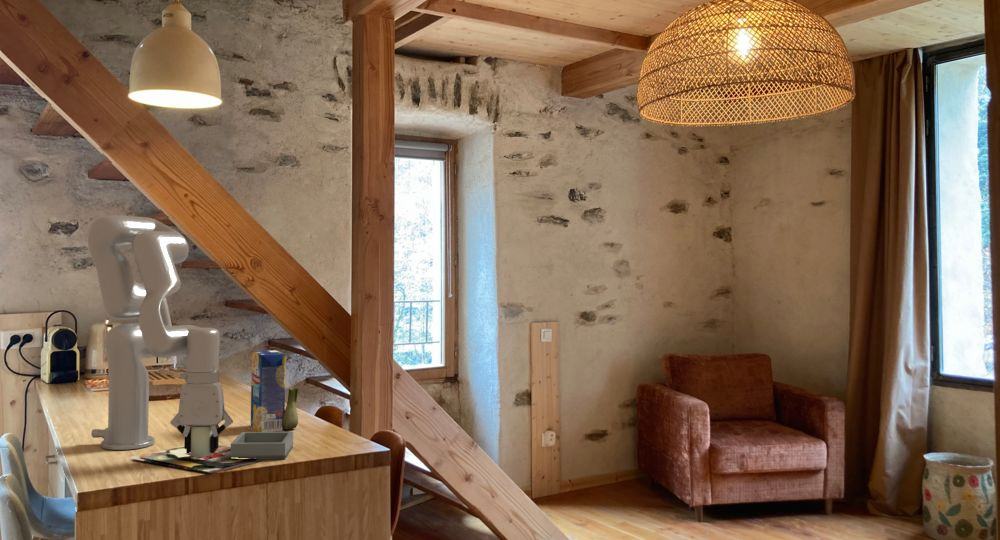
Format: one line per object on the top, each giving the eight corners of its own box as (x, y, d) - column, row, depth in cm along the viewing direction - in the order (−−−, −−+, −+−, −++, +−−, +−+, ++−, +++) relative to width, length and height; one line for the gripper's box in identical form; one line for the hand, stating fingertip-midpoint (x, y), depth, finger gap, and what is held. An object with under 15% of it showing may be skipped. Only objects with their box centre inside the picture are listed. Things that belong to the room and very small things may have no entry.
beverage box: (273, 423, 234) (275, 350, 234) (284, 430, 224) (285, 354, 224) (250, 425, 230) (251, 351, 230) (260, 433, 221) (261, 355, 221)
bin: (230, 460, 191) (230, 443, 191) (241, 447, 204) (242, 432, 204) (285, 459, 192) (285, 443, 192) (292, 447, 205) (293, 431, 205)
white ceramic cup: (187, 460, 190) (188, 427, 190) (193, 455, 195) (194, 423, 194) (209, 460, 190) (209, 427, 190) (214, 455, 195) (214, 423, 195)
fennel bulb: (289, 426, 230) (295, 385, 230) (301, 429, 227) (307, 388, 228) (274, 427, 225) (280, 386, 225) (286, 430, 222) (292, 388, 223)
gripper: (161, 380, 187) (160, 456, 188) (235, 380, 189) (233, 455, 190) (171, 375, 195) (170, 448, 195) (241, 376, 197) (240, 448, 197)
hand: (201, 451), depth 192 cm, fingers closed on white ceramic cup, 5 cm apart
